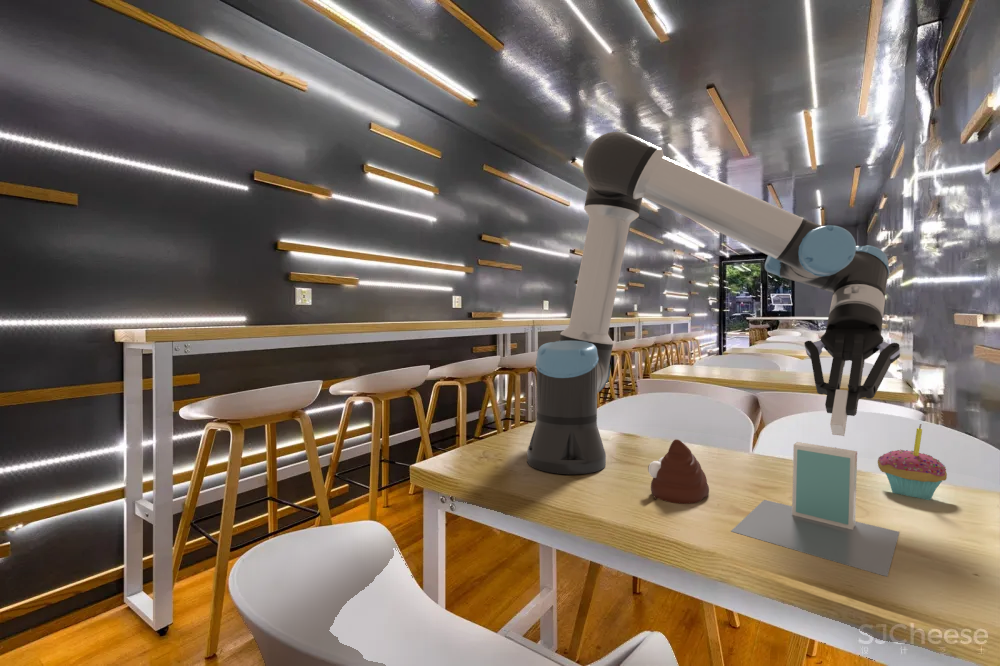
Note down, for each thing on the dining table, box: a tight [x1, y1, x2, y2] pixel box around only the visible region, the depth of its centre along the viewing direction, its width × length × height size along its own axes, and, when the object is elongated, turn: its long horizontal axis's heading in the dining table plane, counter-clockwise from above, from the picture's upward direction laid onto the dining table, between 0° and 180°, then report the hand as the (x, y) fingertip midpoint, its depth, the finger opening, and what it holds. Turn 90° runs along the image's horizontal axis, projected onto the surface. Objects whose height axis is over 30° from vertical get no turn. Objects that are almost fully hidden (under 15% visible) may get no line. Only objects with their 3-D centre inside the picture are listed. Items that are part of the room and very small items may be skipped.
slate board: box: [730, 499, 900, 578], centre depth 63 cm, size 16×15×1 cm
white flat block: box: [791, 441, 858, 530], centre depth 67 cm, size 7×2×10 cm, turn 47°
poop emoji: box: [647, 438, 710, 505], centre depth 77 cm, size 10×8×9 cm
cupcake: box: [877, 423, 948, 501], centre depth 78 cm, size 9×8×12 cm
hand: (837, 429), depth 72 cm, fingers closed
